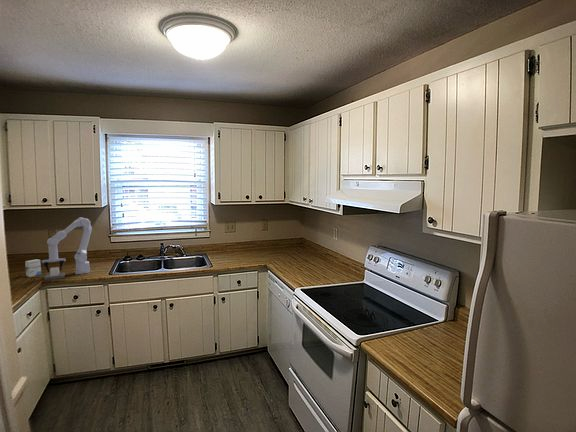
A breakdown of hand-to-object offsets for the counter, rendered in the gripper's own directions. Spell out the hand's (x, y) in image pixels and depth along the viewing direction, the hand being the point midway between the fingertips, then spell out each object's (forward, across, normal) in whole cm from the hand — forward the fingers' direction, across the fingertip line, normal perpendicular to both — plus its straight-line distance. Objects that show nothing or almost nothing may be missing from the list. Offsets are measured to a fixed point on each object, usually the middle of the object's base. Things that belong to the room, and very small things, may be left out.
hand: (54, 271), depth 259 cm
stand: (+5, 0, 0) cm, 5 cm away
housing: (+3, 0, 0) cm, 3 cm away
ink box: (+5, +15, -14) cm, 22 cm away
